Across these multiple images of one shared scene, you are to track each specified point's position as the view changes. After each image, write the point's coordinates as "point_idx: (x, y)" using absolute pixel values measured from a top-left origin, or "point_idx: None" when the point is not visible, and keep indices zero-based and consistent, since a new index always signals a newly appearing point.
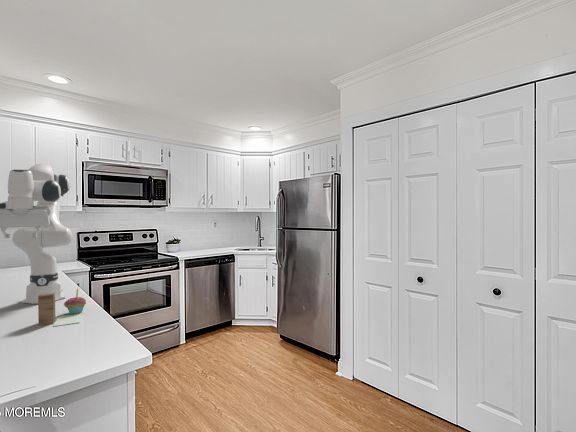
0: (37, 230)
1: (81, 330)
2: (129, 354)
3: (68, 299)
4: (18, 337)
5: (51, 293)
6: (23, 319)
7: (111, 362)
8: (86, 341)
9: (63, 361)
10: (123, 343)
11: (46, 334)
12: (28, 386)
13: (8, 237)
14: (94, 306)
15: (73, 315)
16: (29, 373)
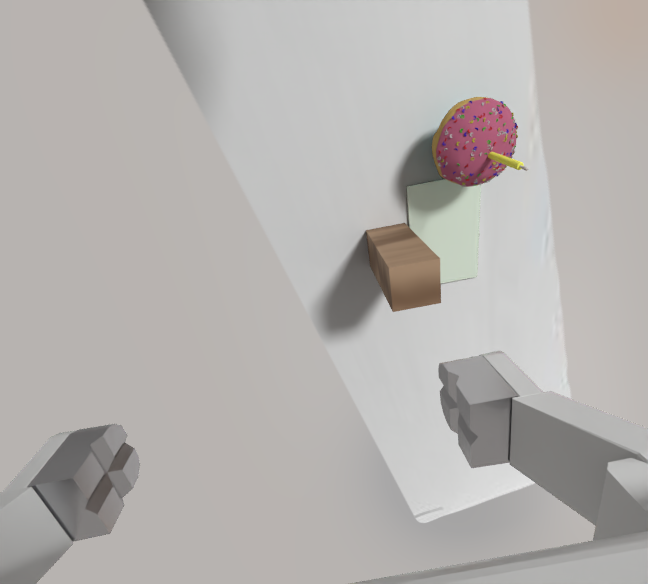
0: (598, 503)
1: (483, 336)
2: None
3: (456, 148)
4: (353, 345)
5: (430, 275)
6: (293, 172)
7: None
8: None
9: (464, 461)
10: None
11: (410, 342)
12: (434, 507)
13: (136, 472)
14: (524, 44)
15: (454, 190)
16: (426, 483)
